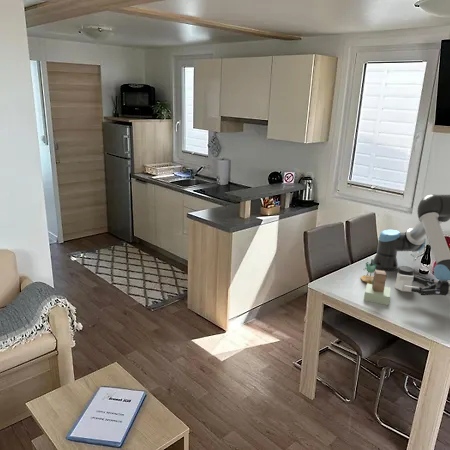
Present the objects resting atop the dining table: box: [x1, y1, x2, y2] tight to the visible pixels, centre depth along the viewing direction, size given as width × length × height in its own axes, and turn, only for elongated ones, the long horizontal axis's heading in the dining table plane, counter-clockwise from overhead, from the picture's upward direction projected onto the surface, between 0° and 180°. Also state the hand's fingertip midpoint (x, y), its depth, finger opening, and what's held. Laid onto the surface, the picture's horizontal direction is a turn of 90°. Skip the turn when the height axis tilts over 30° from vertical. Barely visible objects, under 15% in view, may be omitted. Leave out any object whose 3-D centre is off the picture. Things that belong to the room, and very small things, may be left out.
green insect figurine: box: [360, 258, 377, 284], centre depth 238 cm, size 10×18×15 cm, turn 163°
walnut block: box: [371, 269, 387, 292], centre depth 217 cm, size 5×5×10 cm
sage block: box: [363, 283, 391, 306], centre depth 219 cm, size 12×12×5 cm
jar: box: [394, 265, 415, 292], centre depth 230 cm, size 9×8×12 cm
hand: (401, 282), depth 211 cm, fingers open, 13 cm apart
